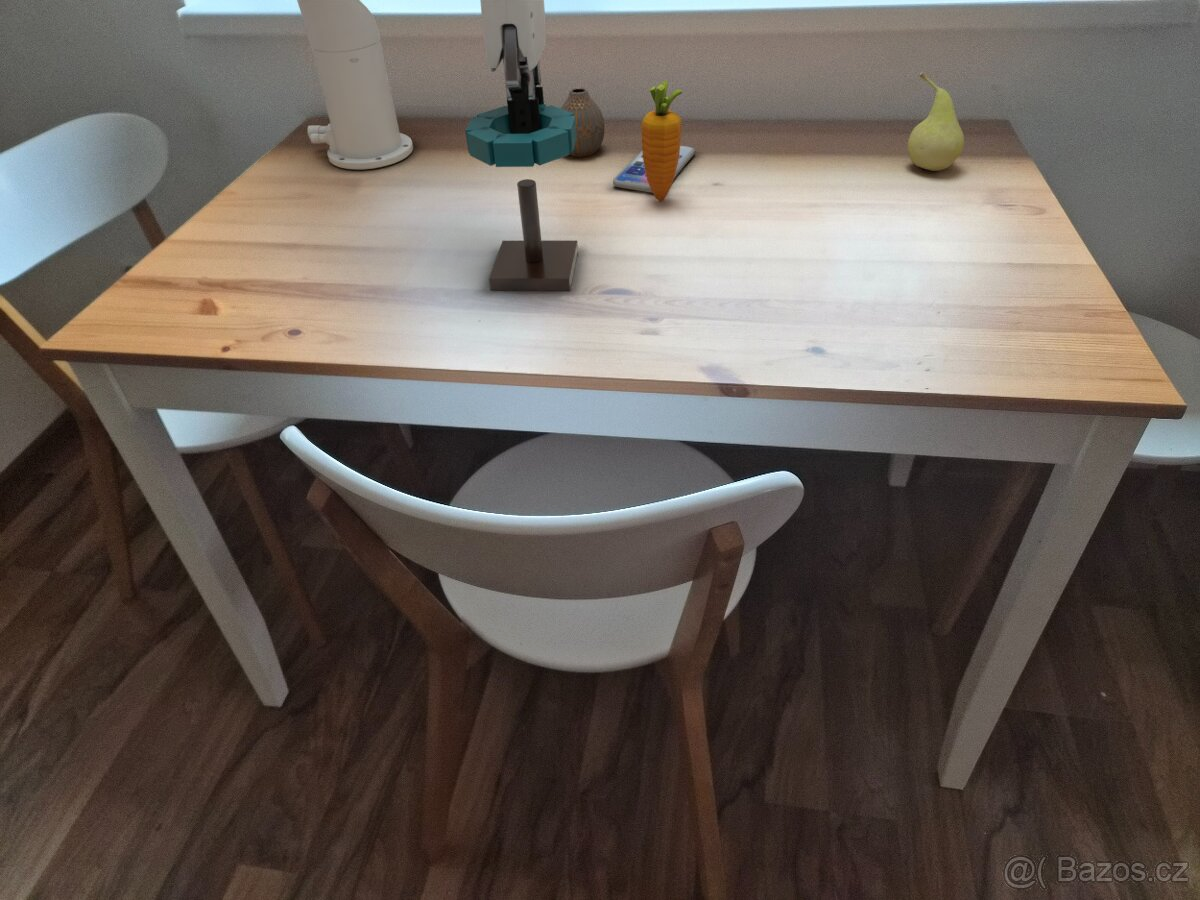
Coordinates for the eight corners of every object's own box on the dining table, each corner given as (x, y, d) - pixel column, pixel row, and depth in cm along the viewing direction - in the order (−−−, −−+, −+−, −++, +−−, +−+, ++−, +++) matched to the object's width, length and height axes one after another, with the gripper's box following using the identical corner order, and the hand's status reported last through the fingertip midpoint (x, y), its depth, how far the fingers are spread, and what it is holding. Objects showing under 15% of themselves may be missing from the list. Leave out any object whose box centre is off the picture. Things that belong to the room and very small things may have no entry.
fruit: (949, 183, 106) (973, 88, 98) (892, 172, 109) (911, 79, 101) (962, 164, 110) (986, 72, 102) (907, 155, 113) (926, 64, 105)
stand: (490, 290, 90) (477, 201, 83) (503, 251, 97) (492, 166, 90) (570, 290, 90) (563, 200, 83) (578, 251, 96) (572, 165, 89)
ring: (461, 167, 80) (457, 143, 79) (482, 127, 88) (479, 104, 87) (568, 166, 79) (567, 142, 78) (580, 126, 87) (579, 103, 86)
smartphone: (697, 146, 116) (661, 188, 106) (697, 153, 117) (661, 195, 107) (649, 140, 118) (609, 180, 108) (649, 146, 119) (609, 187, 109)
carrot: (656, 190, 108) (657, 72, 98) (687, 199, 106) (691, 79, 96) (633, 204, 105) (632, 83, 95) (664, 213, 103) (666, 91, 93)
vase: (607, 143, 121) (605, 81, 115) (602, 161, 116) (600, 98, 110) (562, 143, 122) (557, 82, 116) (555, 161, 117) (550, 98, 111)
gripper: (485, -83, 81) (506, 106, 93) (449, -50, 69) (480, 162, 81) (559, -86, 80) (571, 105, 92) (536, -53, 68) (554, 161, 80)
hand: (528, 130), depth 87 cm, fingers closed on ring, 2 cm apart
